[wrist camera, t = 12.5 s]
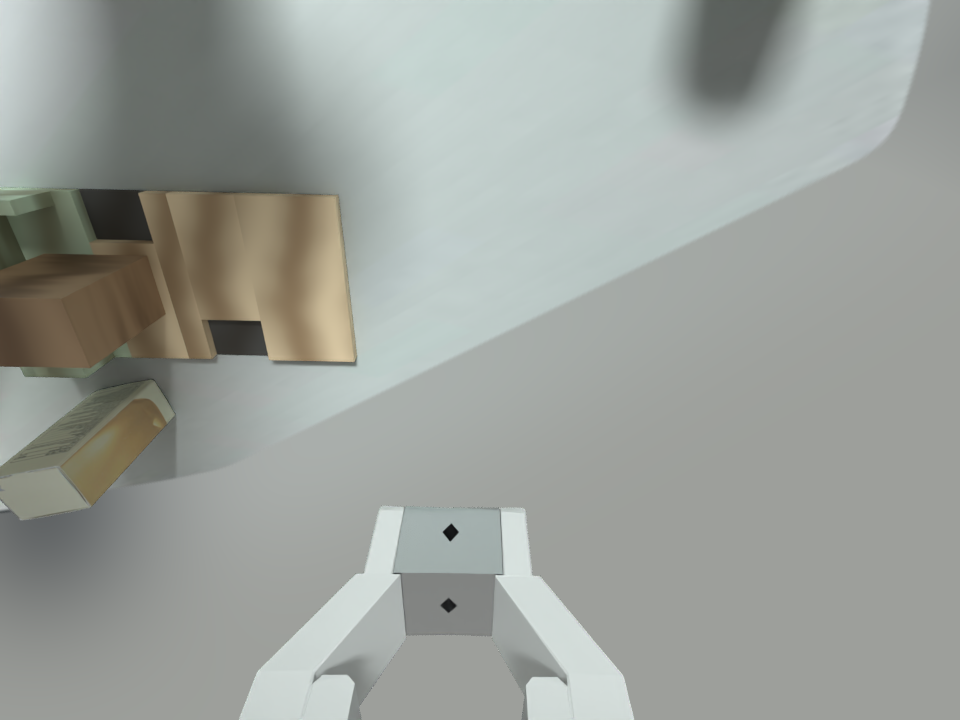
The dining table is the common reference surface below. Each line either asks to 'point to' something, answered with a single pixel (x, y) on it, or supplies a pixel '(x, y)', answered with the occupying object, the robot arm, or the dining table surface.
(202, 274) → the wooden slotted tray
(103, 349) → the walnut block
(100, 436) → the skincare box
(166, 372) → the dining table surface
